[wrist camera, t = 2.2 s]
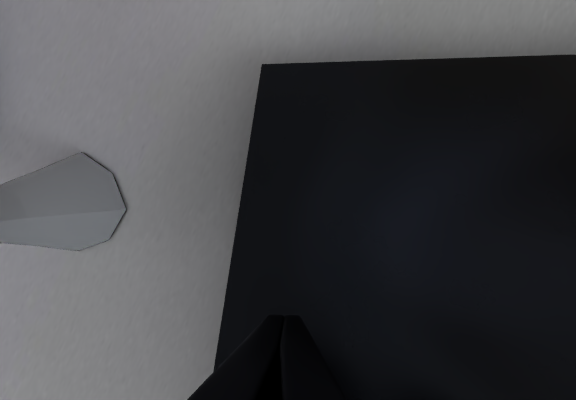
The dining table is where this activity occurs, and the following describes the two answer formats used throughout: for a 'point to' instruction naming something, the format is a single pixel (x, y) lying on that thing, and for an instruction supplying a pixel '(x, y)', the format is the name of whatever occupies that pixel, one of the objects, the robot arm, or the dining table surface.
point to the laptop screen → (415, 224)
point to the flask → (61, 206)
